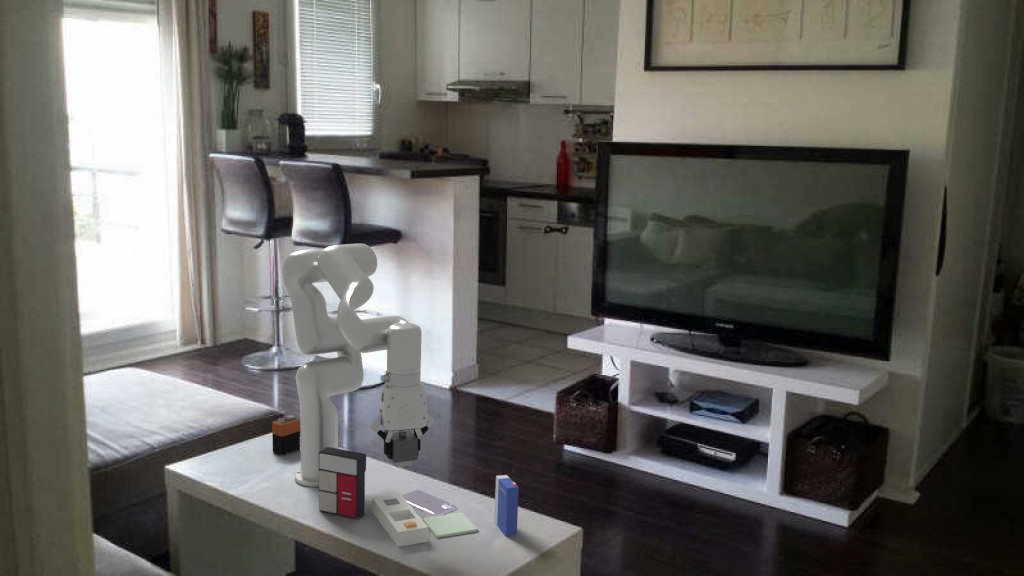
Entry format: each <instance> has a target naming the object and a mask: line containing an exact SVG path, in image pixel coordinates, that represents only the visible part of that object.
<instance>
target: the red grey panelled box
mask: <svg viewBox="0 0 1024 576" xmlns="http://www.w3.org/2000/svg"><path fill="white" fill-rule="evenodd" d="M366 470H367V454H366V453H363V452H359V451H351V450H347V449H342V448H338V449H336V448H331V447H327V448H325V449H323V450H321V451H319V487H318V510H319V511H320V512H324V513H330V514H334V515H339V516H344V517H349V518H353V519H359V518H361V517H362V516H363V515H364V514H365V512H366V511H365V509H366V507H365V506H366V504H365V503H366V502H365V501H366V500H365V498H366V492H365V491H366V485H365V484H366V483H365V482H366V479H365V478H366Z"/></svg>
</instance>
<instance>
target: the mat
mask: <svg viewBox="0 0 1024 576" xmlns="http://www.w3.org/2000/svg"><path fill="white" fill-rule="evenodd" d="M421 519H422V520H423V521H424V523H425V524H426V525H427V526H428V530H429V531H430V532H431V533H432V534H433V535H434V537H435V538H436V539H440V538H446V537H452V536H458V535H459V536H460V535H464V534H470V533H476V532H477V533H478V532H479V531H478V530H479V529H478V527H477V526H476V525H475V524H474V523H473V522H472V521H471V520H470V519H469V518H468V517H467V516H466V514H464V512H462V511H460V512H453V513H446V514H444V515H440V516H433V515H432V516H428V517H422V518H421Z"/></svg>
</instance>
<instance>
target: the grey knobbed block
mask: <svg viewBox="0 0 1024 576" xmlns="http://www.w3.org/2000/svg"><path fill="white" fill-rule="evenodd" d="M391 442H392V443H393V450H392V459H390V463H392V464H393V466H394V467H395V468H403V467H409V466H410V467H411V466H412V467H413V466H414V461H418V460H419V459H418V457H419V455H418V438H417V437H416V436H415V435H414V432H413V431H411V430H402V431H394V432H393V435H392V438H391Z"/></svg>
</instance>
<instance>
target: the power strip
mask: <svg viewBox="0 0 1024 576" xmlns="http://www.w3.org/2000/svg"><path fill="white" fill-rule="evenodd" d="M402 495H403V494H401V493H397V494H390V495H389V494H388V495H384V496H383V495H382V496H377V497H372V501H371V502H372V505H371V506H372V508H371V509H372V511H371V513H373V515H374V516H375V517H376V519H377V520H378V521H379V523H380V524H381V525H382V527H383V528H384V530H385V532H386V533H387V534H388V535H389V537H390V538H391V539H392V541H393V542H394V543H395V545H396V546H397V547H398V548H400V547H405V546H411V545H418V544H423V543H428V542H429V528H428V526H427V525H426V524H425V523H424V521H423V520H422V518H421V516H420V515H419V514H418V512H416V511H415V509H414V507H413V506H411V505H409V503H408V502H407V501H406V500H405V499H404V497H403V496H402Z"/></svg>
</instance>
